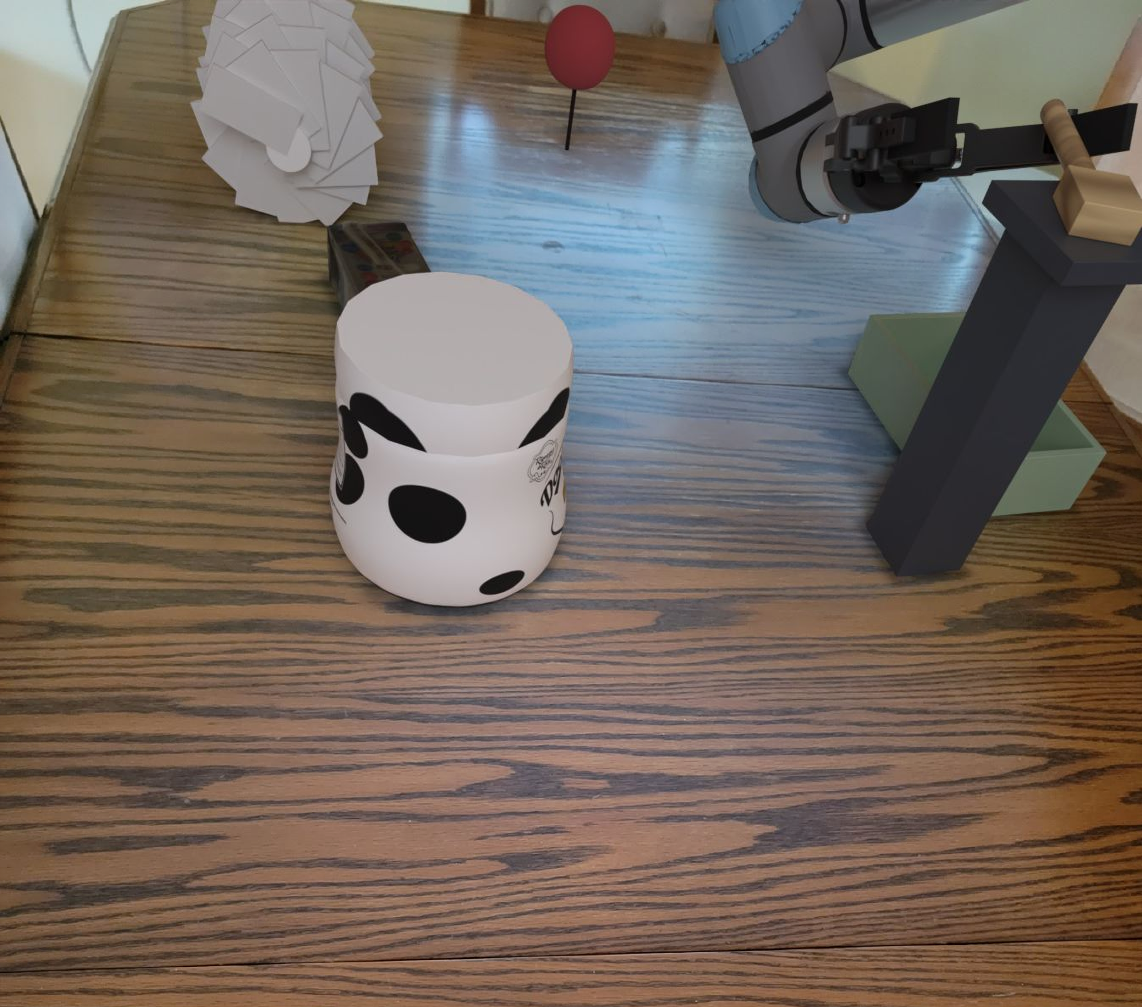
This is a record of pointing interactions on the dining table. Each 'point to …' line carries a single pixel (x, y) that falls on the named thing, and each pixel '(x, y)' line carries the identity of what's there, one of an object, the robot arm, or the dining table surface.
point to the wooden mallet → (1089, 186)
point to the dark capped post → (999, 378)
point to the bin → (904, 379)
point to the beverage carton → (369, 256)
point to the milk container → (450, 437)
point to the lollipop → (579, 51)
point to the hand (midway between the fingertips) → (1043, 124)
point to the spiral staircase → (289, 106)
